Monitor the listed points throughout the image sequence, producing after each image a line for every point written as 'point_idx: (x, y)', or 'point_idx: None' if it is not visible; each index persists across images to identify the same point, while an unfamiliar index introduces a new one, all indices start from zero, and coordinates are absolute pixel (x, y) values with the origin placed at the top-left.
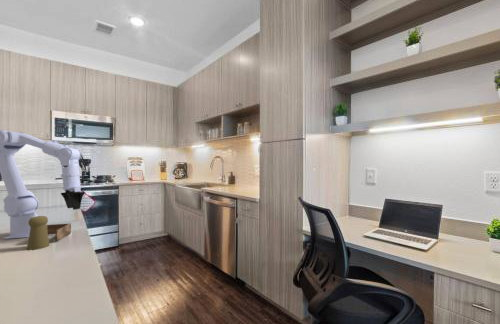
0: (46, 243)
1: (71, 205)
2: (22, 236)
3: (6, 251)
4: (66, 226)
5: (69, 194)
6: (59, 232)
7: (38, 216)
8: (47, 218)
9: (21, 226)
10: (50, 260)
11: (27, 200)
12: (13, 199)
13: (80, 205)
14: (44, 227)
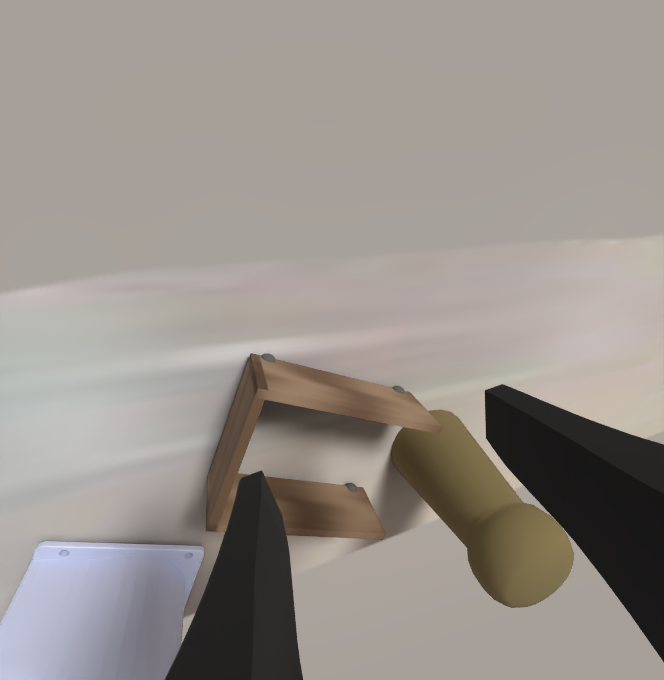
0: (461, 424)
1: (275, 520)
2: (195, 571)
3: (405, 527)
4: (329, 400)
5: None
6: (408, 410)
7: (544, 586)
8: (540, 530)
9: (178, 643)
10: (624, 364)
11: None
12: None
13: (538, 399)
14: (513, 492)
